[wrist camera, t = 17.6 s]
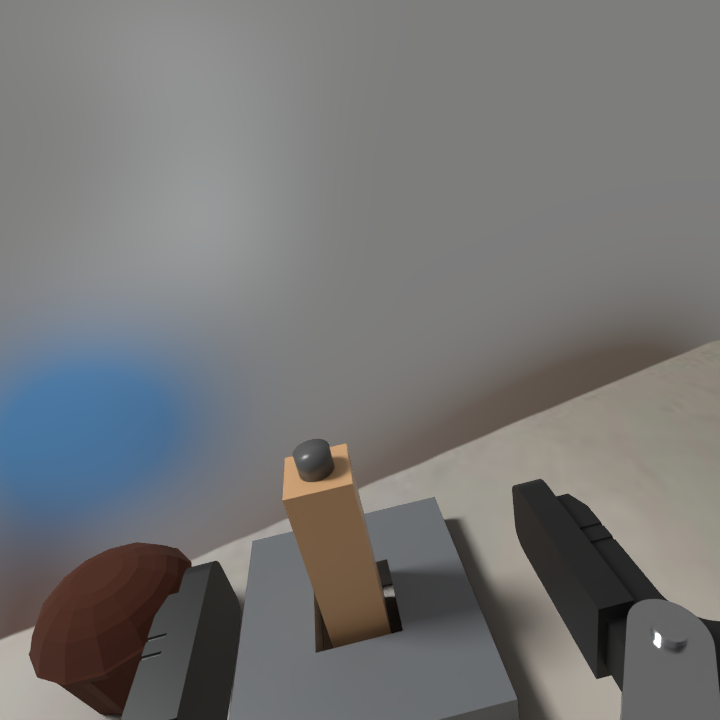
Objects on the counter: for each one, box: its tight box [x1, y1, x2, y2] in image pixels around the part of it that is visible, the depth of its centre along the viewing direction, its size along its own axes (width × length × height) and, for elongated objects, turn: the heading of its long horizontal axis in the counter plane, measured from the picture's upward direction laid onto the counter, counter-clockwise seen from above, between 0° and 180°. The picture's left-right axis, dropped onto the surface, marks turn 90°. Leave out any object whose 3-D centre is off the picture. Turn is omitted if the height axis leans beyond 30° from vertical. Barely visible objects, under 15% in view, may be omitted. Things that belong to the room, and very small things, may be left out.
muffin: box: [29, 543, 191, 715], centre depth 35 cm, size 12×11×10 cm
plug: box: [283, 439, 392, 648], centre depth 32 cm, size 4×4×18 cm
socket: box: [229, 497, 519, 720], centre depth 35 cm, size 18×18×3 cm
